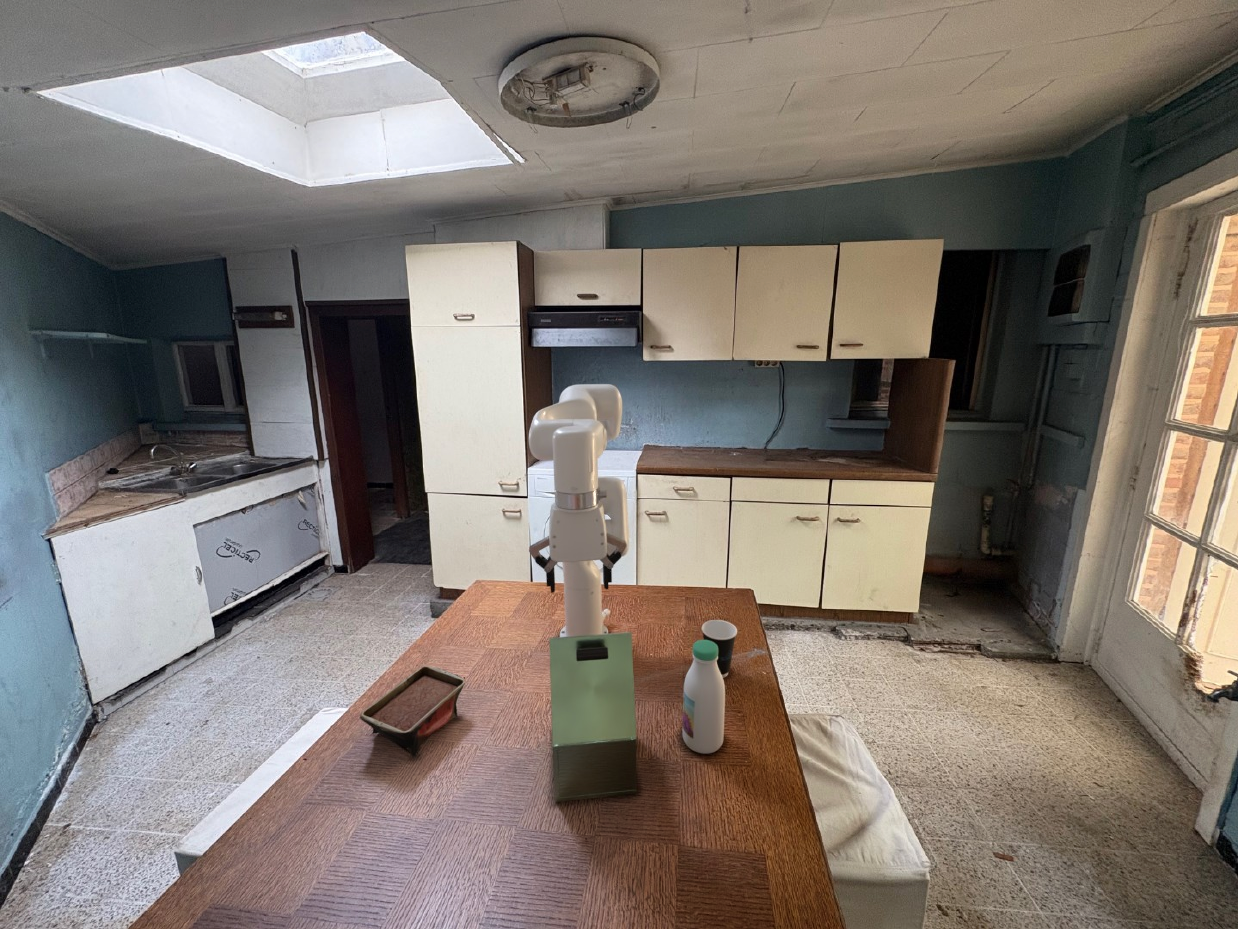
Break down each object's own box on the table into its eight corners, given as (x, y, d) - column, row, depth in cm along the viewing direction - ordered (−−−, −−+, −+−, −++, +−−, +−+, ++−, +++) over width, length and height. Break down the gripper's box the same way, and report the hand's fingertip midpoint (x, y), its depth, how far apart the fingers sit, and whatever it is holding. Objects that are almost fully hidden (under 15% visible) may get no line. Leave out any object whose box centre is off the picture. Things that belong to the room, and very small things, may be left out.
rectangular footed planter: (474, 722, 103) (473, 675, 103) (400, 773, 88) (399, 718, 87) (425, 705, 110) (424, 660, 110) (348, 750, 94) (347, 698, 94)
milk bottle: (725, 729, 98) (729, 638, 93) (720, 759, 91) (724, 662, 86) (686, 720, 100) (688, 631, 96) (678, 749, 93) (680, 653, 89)
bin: (556, 732, 98) (554, 684, 95) (625, 726, 99) (624, 678, 97) (555, 802, 83) (552, 747, 80) (636, 793, 84) (636, 739, 82)
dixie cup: (703, 658, 120) (704, 617, 118) (737, 665, 118) (739, 622, 115) (697, 678, 113) (698, 635, 111) (732, 686, 111) (734, 641, 108)
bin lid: (549, 637, 83) (548, 644, 78) (630, 632, 84) (634, 637, 79) (552, 743, 80) (551, 756, 75) (636, 735, 82) (640, 748, 77)
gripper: (623, 489, 91) (624, 575, 95) (527, 493, 89) (532, 580, 94) (628, 502, 84) (629, 594, 88) (524, 507, 82) (530, 601, 86)
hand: (579, 587), depth 91 cm, fingers open, 9 cm apart
